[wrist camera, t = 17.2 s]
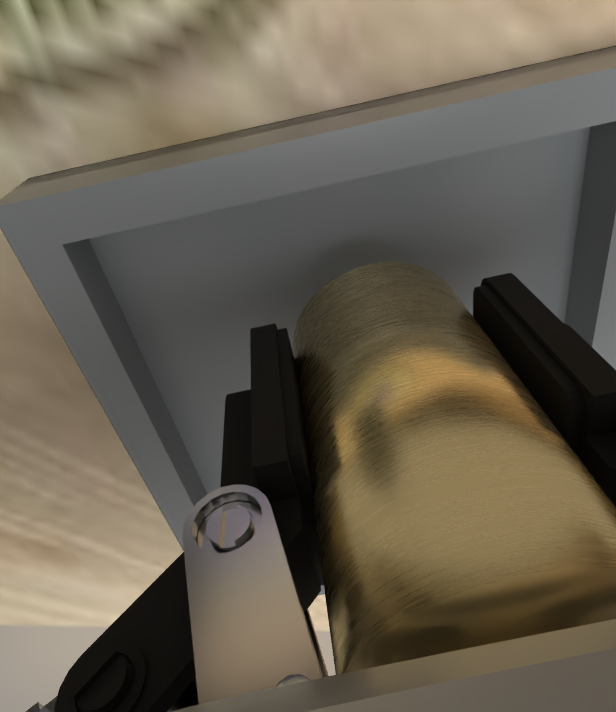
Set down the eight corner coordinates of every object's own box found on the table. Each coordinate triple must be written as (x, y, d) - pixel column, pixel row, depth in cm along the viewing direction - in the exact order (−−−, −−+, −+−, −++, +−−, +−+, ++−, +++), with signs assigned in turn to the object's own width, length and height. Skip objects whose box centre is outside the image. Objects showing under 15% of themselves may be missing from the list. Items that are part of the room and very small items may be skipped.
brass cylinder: (309, 422, 13) (362, 763, 7) (274, 284, 10) (310, 619, 5) (464, 391, 13) (648, 708, 7) (463, 243, 10) (739, 533, 5)
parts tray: (222, 563, 21) (220, 615, 19) (28, 178, 12) (-11, 208, 10) (553, 493, 20) (583, 540, 19) (622, 44, 11) (693, 50, 10)
